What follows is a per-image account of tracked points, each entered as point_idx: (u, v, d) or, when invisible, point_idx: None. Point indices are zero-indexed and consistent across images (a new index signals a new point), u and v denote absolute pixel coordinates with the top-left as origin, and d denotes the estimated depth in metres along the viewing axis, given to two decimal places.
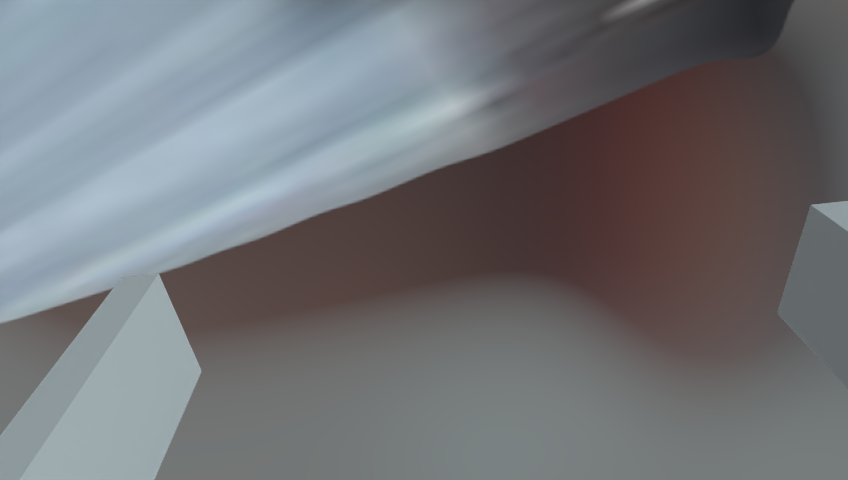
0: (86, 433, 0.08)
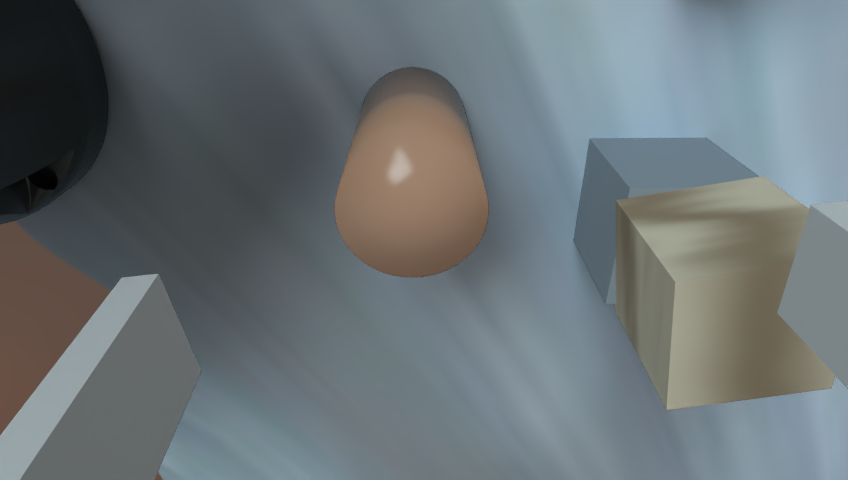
0: (86, 433, 0.08)
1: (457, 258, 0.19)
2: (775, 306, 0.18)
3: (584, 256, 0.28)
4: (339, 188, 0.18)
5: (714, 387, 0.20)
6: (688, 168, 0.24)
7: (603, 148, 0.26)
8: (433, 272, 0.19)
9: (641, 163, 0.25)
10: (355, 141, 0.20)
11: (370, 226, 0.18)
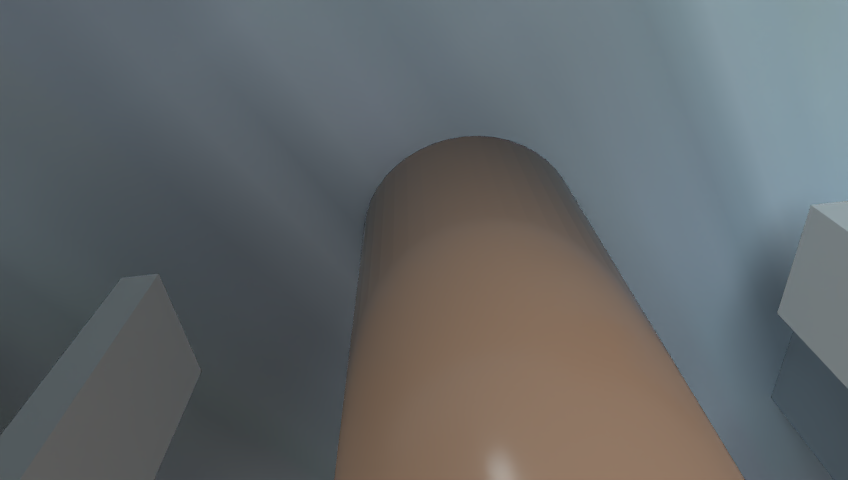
0: (86, 433, 0.08)
1: None
2: None
3: (820, 452, 0.15)
4: None
5: None
6: None
7: None
8: None
9: None
10: (353, 462, 0.06)
11: None
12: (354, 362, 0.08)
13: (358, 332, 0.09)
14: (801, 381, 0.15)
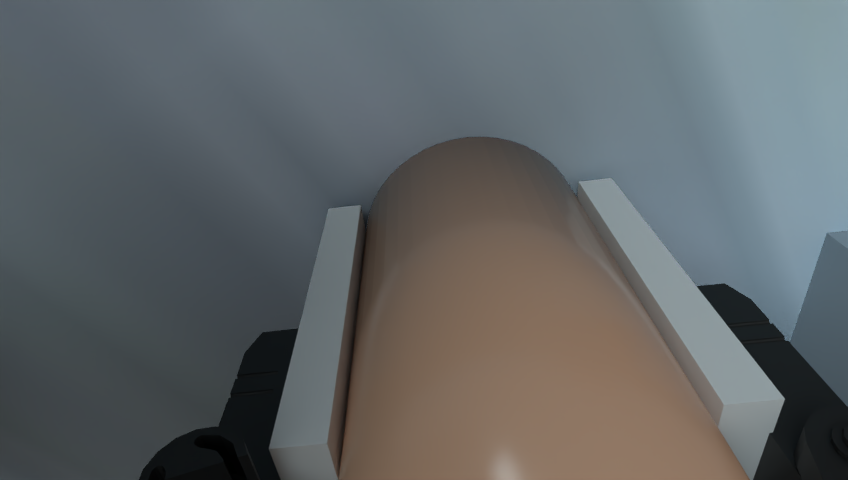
0: (353, 319, 0.10)
1: None
2: None
3: None
4: None
5: None
6: None
7: None
8: None
9: None
10: (359, 463, 0.06)
11: None
12: (359, 363, 0.08)
13: (362, 333, 0.09)
14: None
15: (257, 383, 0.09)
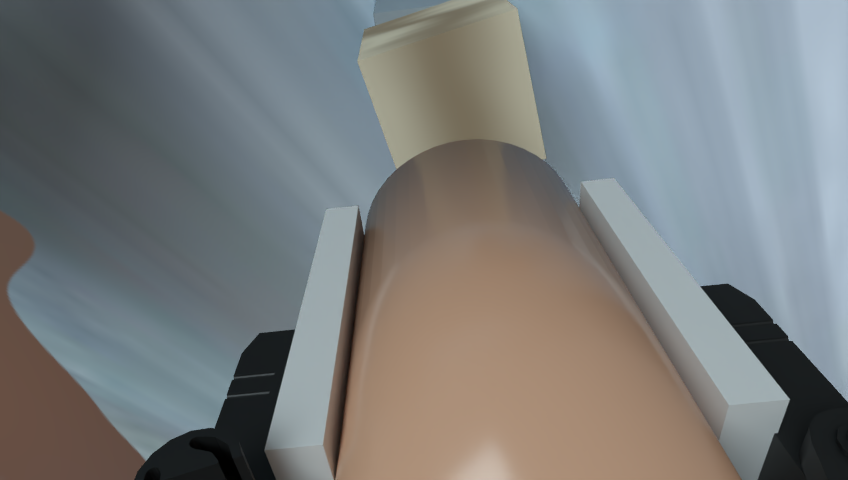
0: (350, 320, 0.10)
1: None
2: (456, 75, 0.20)
3: None
4: None
5: None
6: None
7: None
8: None
9: (403, 0, 0.27)
10: (355, 464, 0.06)
11: None
12: (356, 364, 0.08)
13: (360, 334, 0.09)
14: None
15: (254, 384, 0.09)
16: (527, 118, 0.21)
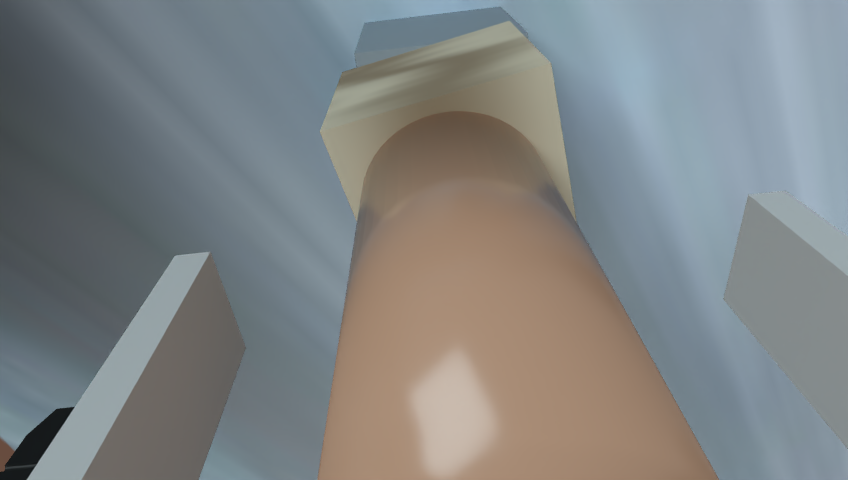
0: (158, 394, 0.09)
1: None
2: None
3: None
4: None
5: None
6: (445, 31, 0.20)
7: (369, 28, 0.22)
8: None
9: (396, 33, 0.21)
10: (349, 346, 0.08)
11: None
12: (351, 286, 0.10)
13: (355, 264, 0.10)
14: None
15: (21, 478, 0.08)
16: None
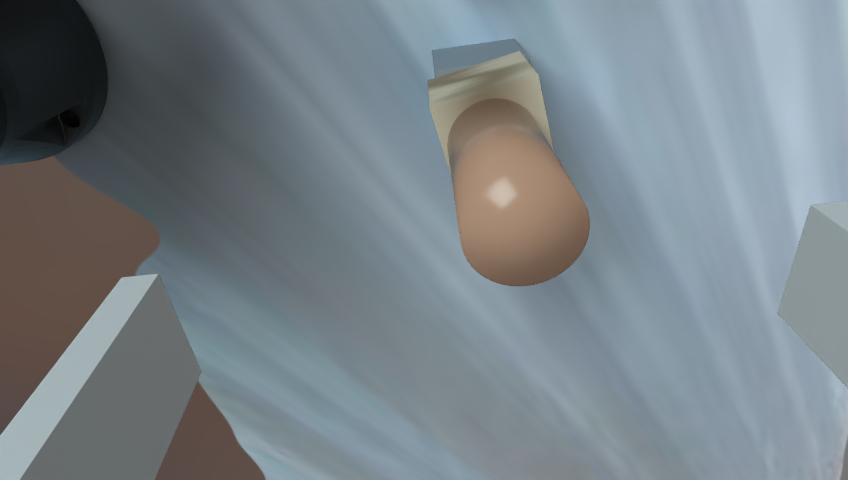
0: (86, 433, 0.08)
1: (563, 266, 0.23)
2: None
3: None
4: (464, 219, 0.21)
5: None
6: (483, 56, 0.36)
7: (436, 54, 0.38)
8: (543, 280, 0.23)
9: (454, 57, 0.36)
10: (465, 175, 0.23)
11: (490, 247, 0.22)
12: (458, 164, 0.25)
13: (458, 158, 0.26)
14: None
15: None
16: None
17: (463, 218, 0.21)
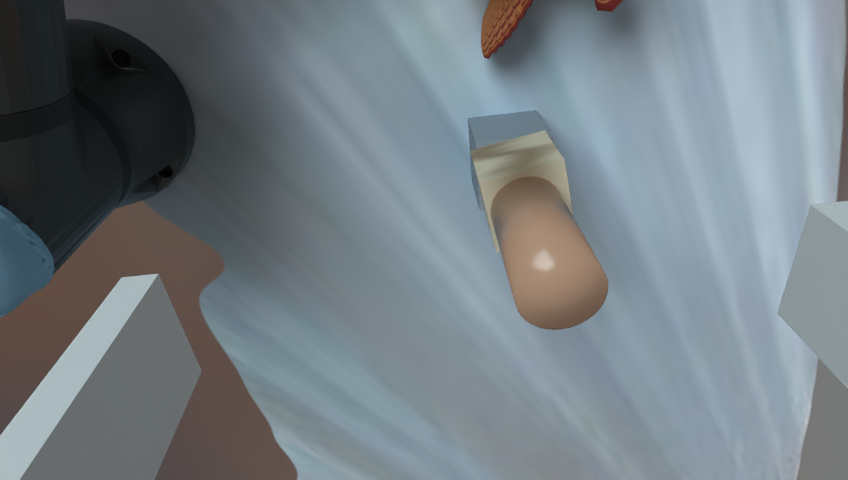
0: (86, 433, 0.08)
1: (587, 316, 0.31)
2: None
3: (474, 187, 0.48)
4: (519, 283, 0.30)
5: None
6: (513, 129, 0.44)
7: (472, 123, 0.46)
8: (571, 325, 0.31)
9: (489, 129, 0.44)
10: (516, 247, 0.32)
11: (535, 302, 0.30)
12: (507, 234, 0.33)
13: (506, 228, 0.34)
14: (471, 168, 0.49)
15: None
16: None
17: (518, 282, 0.30)
